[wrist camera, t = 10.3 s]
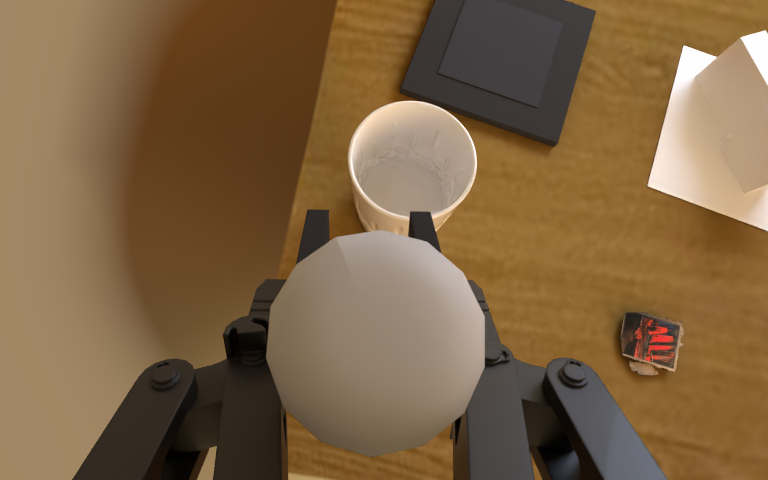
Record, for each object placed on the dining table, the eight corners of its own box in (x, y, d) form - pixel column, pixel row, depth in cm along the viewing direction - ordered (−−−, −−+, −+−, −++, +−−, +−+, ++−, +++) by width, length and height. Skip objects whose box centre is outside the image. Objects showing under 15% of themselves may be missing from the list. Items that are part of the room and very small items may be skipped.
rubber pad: (399, 93, 42) (400, 87, 41) (449, -32, 45) (450, -40, 44) (554, 147, 41) (558, 142, 40) (592, 16, 45) (596, 9, 44)
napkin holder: (681, 44, 44) (727, -1, 39) (801, 86, 44) (865, 46, 38) (646, 187, 41) (692, 160, 35) (777, 234, 40) (844, 214, 35)
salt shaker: (446, 305, 22) (570, 227, 9) (415, 438, 20) (511, 562, 8) (321, 271, 22) (272, 146, 9) (281, 400, 20) (158, 462, 8)
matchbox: (616, 311, 38) (620, 311, 37) (680, 314, 38) (684, 314, 38) (622, 373, 37) (625, 373, 36) (687, 376, 37) (692, 376, 36)
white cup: (342, 247, 38) (336, 207, 28) (360, 156, 40) (360, 90, 30) (440, 264, 38) (468, 231, 28) (453, 172, 40) (484, 112, 30)
